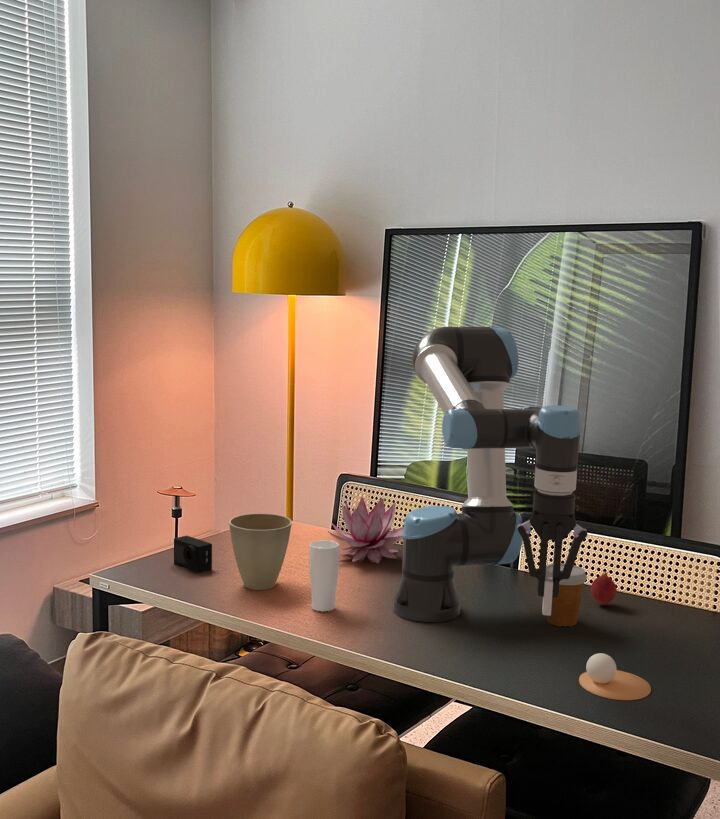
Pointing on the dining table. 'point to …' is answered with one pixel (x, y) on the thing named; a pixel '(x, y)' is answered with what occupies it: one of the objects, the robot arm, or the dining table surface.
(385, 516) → the decorative flower
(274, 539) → the plant pot
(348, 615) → the dining table surface
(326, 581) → the drinking glass
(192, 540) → the digital camera
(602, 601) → the red bumpy oval piece
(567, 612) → the disposable coffee cup
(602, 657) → the ball
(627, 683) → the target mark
